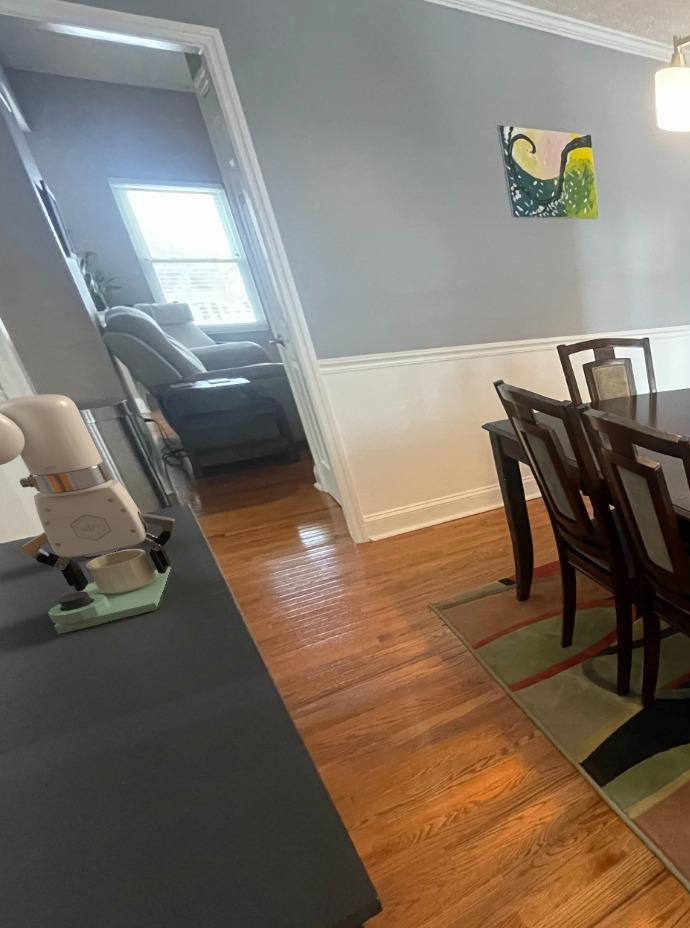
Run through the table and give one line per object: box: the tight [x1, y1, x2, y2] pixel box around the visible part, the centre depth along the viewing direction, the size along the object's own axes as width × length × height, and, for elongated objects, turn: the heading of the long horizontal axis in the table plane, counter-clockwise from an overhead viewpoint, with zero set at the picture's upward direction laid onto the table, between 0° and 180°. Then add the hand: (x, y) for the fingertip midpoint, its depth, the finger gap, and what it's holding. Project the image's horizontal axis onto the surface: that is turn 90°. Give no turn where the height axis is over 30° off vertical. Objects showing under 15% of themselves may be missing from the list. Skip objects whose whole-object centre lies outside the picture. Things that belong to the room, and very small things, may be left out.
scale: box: [47, 566, 172, 635], centre depth 94 cm, size 12×16×3 cm
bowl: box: [84, 548, 156, 594], centre depth 96 cm, size 7×7×5 cm
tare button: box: [58, 591, 92, 611], centre depth 88 cm, size 3×3×2 cm
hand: (124, 578), depth 96 cm, fingers open, 9 cm apart
